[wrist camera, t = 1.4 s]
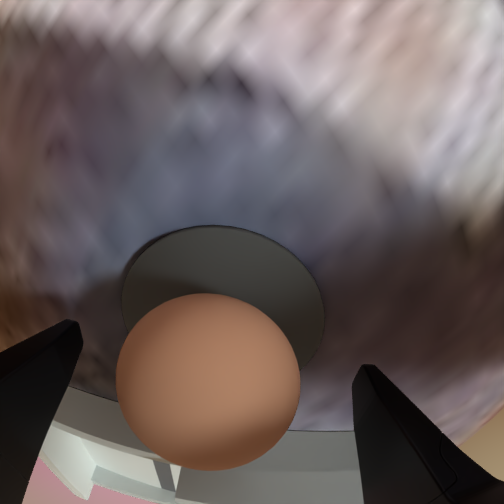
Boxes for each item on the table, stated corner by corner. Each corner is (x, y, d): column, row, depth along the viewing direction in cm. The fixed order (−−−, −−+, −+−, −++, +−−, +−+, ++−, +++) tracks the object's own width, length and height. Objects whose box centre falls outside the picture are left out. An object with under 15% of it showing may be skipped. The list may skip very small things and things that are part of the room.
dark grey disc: (347, 243, 9) (349, 247, 9) (298, 395, 12) (298, 401, 12) (119, 212, 9) (114, 215, 9) (134, 371, 12) (132, 375, 12)
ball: (309, 273, 9) (339, 413, 5) (279, 384, 11) (280, 501, 7) (145, 250, 9) (59, 364, 4) (152, 365, 11) (112, 472, 7)
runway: (384, 429, 13) (405, 518, 8) (330, 490, 17) (335, 552, 12) (51, 379, 13) (7, 456, 8) (91, 454, 17) (69, 512, 12)
